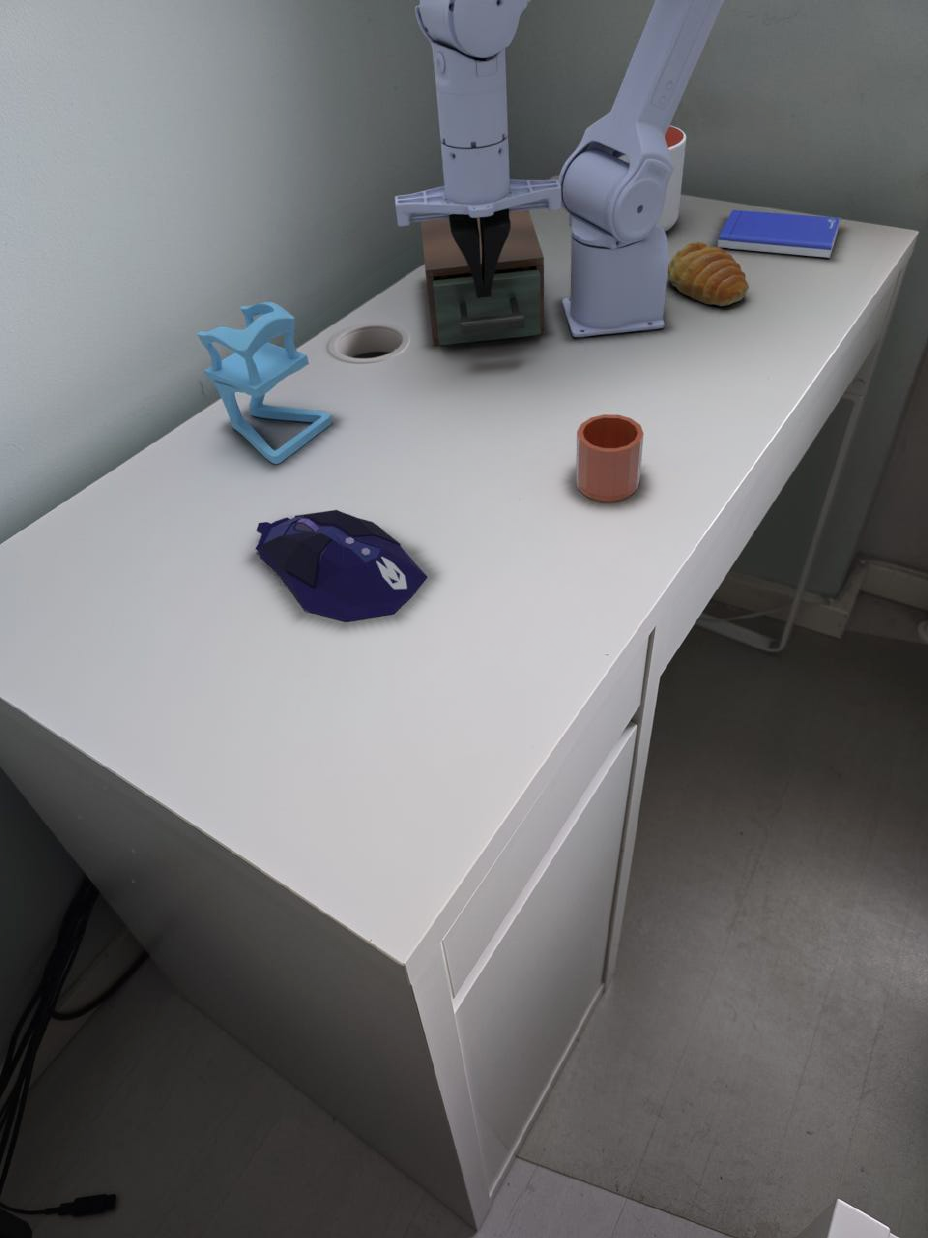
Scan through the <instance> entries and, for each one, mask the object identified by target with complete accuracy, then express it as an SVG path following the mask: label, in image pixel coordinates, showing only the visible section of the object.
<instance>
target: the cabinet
mask: <svg viewBox="0 0 928 1238" xmlns="http://www.w3.org/2000/svg"><path fill="white" fill-rule="evenodd" d="M509 218H510V221H511V228H510V232H509V235H508V237H507V239H506V241H505V244H504V246H503V248H502V251H501V253H500V256H499V259H498V262H497V265H496V269H495V270H503V269H512V268H522V267H530V270H539V273H540V303H541V335H545V257H544V254H543V251H542V248H541V244H540V242H539V238H538V235H537V232H536V229H535V226H534V225H535V224H534V223H533V220H532V216H531V213H530V210H524V211H514V212H509ZM477 221H478V229H479V234H480V262H481V272H482V245H481V231H480V218H479V217H478V218H477ZM420 229H421V239H422V249H423V262H424V270H425V280H426V289H427V299H428V308H429V316H430V317H429V318H430V327H431V336H432V345H433V347H435V346H436V347H437V346H440V345H439V337H438V327H437V318H436V308H435V298H434V289H433V281H436V280H439V279H438V276H446V275H456V274H465V273H471V272H470V269H469V267H468V264H467V262H466V260H465V258H464V256H463V254H462V252H461V250H460V248H459V247H458V245H457V243H456V242H455V240H454V238H453V235H452V233H451V228H450V222H449V218H447V219H438V220H428V221H420Z"/></svg>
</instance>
